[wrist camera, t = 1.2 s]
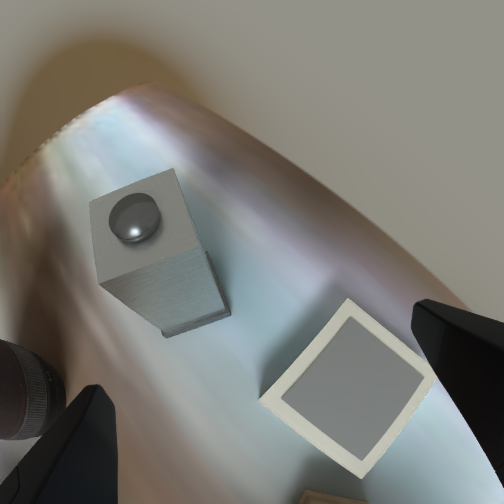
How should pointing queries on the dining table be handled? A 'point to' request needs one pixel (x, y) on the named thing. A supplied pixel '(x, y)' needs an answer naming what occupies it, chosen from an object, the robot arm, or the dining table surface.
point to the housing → (155, 255)
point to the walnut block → (326, 499)
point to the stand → (351, 389)
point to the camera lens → (27, 393)
